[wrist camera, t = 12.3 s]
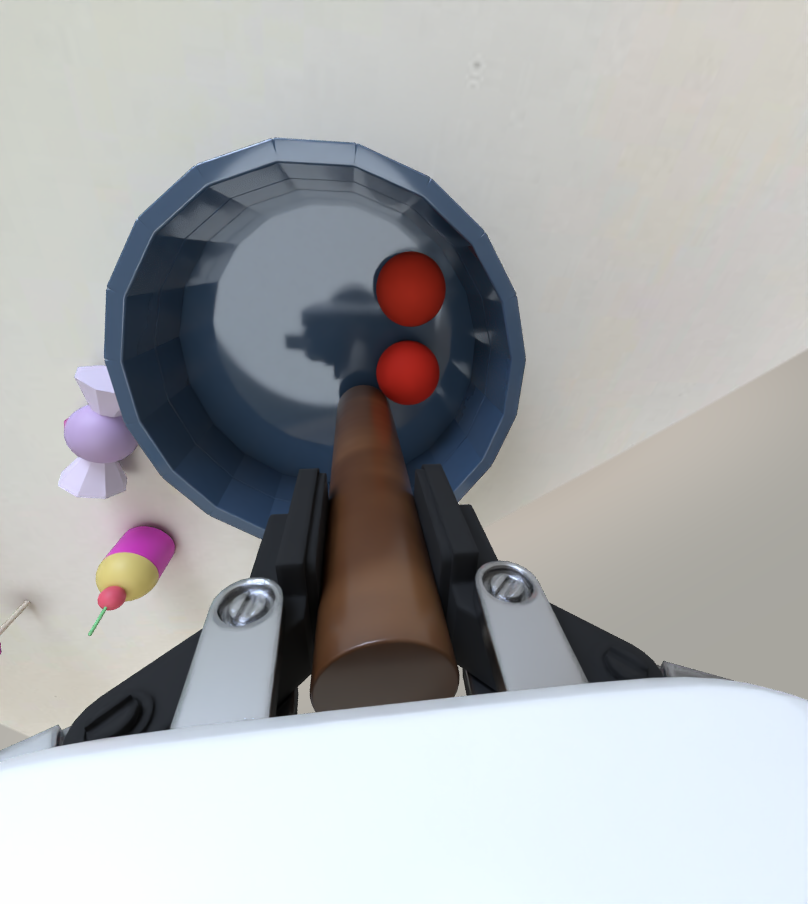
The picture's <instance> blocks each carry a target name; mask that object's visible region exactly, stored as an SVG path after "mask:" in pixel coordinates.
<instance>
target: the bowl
mask: <svg viewBox="0 0 808 904" xmlns="http://www.w3.org/2000/svg"><path fill="white" fill-rule="evenodd" d="M408 251H414V252H420V253H423V254H425V255H427V256H429V257H430V258H431V259H433V260H434V261H435V262H436V263H437V265H438V266H439V267H440V269H441V271H442V273H443V276H444V279H445V285H446V293H445V299H444V302H443V305H442V307H441V309H440V310H439V312H438V313H437V314H436V316H435V317H434V318H433V319H431V320H430V321H428V322H427V323H425V324H423V325H420V326H415V327H406V326H402V325H399V324H397V323H395V322H393V321H392V320H390V319H389V318H388V317H387V316H386V315H385V314H384V312H383V311H382V309H381V308H380V305H379V303H378V300H377V294H376V284H377V279H378V276H379V273H380V271H381V269H382V268H383V266H384V265H385V264H386V262H387V261H388V260H390V259H391V258H392V257H394V256H395V255H397V254H400V253H403V252H408ZM406 340H410V341H416V342H419V343H421V344H423V345H425V346H426V347H428V348H429V349H430V350H431V351H432V352H433V354H434V355H435V357H436V359H437V361H438V365H439V371H440V374H439V381H438V384H437V387H436V388H435V390H434V392H433V393H432V394H431V395H430V396H429V397H428V398H427V399H426V400H424V401H422V402H420V403H418V404H414V405H402V404H398V403H395V402H393V401H392V400H390V399H389V398H387V399H388V401H389V404H390V408H391V411H392V415H393V419H394V423H395V427H396V431H397V434H398V438H399V442H400V446H401V450H402V454H403V458H404V461H405V465H406V469H407V473H408V477H409V481H410V485H411V488H412V492H413V496H414V484H415V470H416V469H421V467H422V464H441V465H442V467H443V470H444V472H445V474H446V477H447V479H448V481H449V484H450V486H451V488H452V490H453V493H454V495H455V497H456V500H457V502H459V501H460V500H461V499H462V497H463V496H464V495H465V494H466V493H467V492H468V491H469V490H470V489H471V488H472V486H473V485H474V484H475V483H476V482H477V481H478V480H479V479H480V478H481V477H482V476H483V474H484V473H485V472H486V471H487V470H488V469H489V468H490V467H491V465H492V464H493V462H494V460H495V458H496V456H497V454H498V452H499V450H500V448H501V446H502V444H503V442H504V440H505V438H506V436H507V434H508V432H509V430H510V428H511V426H512V424H513V422H514V420H515V418H516V415H517V410H518V404H519V398H520V392H521V386H522V380H523V374H524V368H525V362H526V358H525V357H526V356H525V349H524V342H523V335H522V328H521V321H520V314H519V307H518V300H517V296H516V292H515V290H514V288H513V286H512V284H511V282H510V280H509V278H508V276H507V274H506V272H505V270H504V268H503V266H502V264H501V262H500V260H499V258H498V256H497V254H496V252H495V250H494V248H493V246H492V244H491V242H490V240H489V238H488V236H487V234H486V233H484V230H483V229H482V228H481V227H480V226H479V225H478V224H477V223H476V222H475V221H474V220H473V219H472V218H471V217H470V216H469V215H468V214H467V213H466V212H465V211H464V210H463V209H462V208H461V207H460V206H459V205H458V204H457V203H456V202H455V201H454V200H453V199H452V198H451V197H450V196H449V195H448V194H447V193H446V192H445V191H444V190H443V189H442V188H441V187H440V186H439V185H438V184H437V183H436V182H435V181H434V180H433V179H430V177H429V176H427V175H425V174H423V173H420V172H418V171H416V170H414V169H412V168H410V167H408V166H405V165H403V164H401V163H399V162H397V161H395V160H392V159H390V158H388V157H386V156H384V155H382V154H380V153H377V152H375V151H373V150H371V149H369V148H367V147H364V146H362V145H360V144H356V143H352V142H336V141H321V140H305V139H290V138H274V139H271V138H270V139H267V140H264V141H262V142H259V143H256V144H253V145H250V146H247V147H244V148H241V149H238V150H235V151H232V152H230V153H227V154H224V155H221V156H218V157H215V158H212V159H209V160H206V161H203V162H201V163H198V164H197V165H196V166H193V167H192V168H191V169H190V170H188V171H187V172H186V173H185V174H184V175H183V176H182V177H181V178H180V179H179V180H178V181H177V182H175V183H174V184H173V185H172V186H171V187H170V188H169V189H168V190H167V191H166V192H165V193H164V194H162V195H161V196H160V197H159V198H158V199H157V200H156V201H155V202H154V203H153V204H152V205H151V206H149V207H148V208H147V209H146V210H145V211H144V212H143V213H142V214H141V215H140V216H139V217H138V219H137V220H136V221H135V223H134V226H133V228H132V230H131V232H130V235H129V237H128V239H127V241H126V244H125V246H124V248H123V251H122V253H121V255H120V257H119V260H118V262H117V264H116V266H115V269H114V271H113V273H112V275H111V278H110V280H109V282H108V285H107V289H106V313H105V342H104V359H105V364H106V367H107V371H108V374H109V377H110V380H111V383H112V386H113V389H114V393H115V396H116V399H117V402H118V405H119V408H120V411H121V414H122V418H123V421H124V423H125V424H126V427H127V428H128V430H129V431H130V433H131V434H132V436H133V437H134V438H135V440H136V441H137V443H138V444H139V445H140V447H141V448H142V450H143V451H144V453H145V454H146V455H147V457H148V458H149V460H150V461H151V463H152V464H153V465H154V467H155V468H156V470H157V471H158V473H159V474H160V475H161V476H162V478H163V479H165V480H166V481H167V482H168V483H170V484H171V485H172V486H173V487H174V488H176V489H177V490H178V491H179V492H181V493H182V494H183V495H184V496H185V497H187V498H188V499H189V500H190V501H192V502H193V503H194V504H195V505H197V506H198V507H199V508H200V509H201V510H203V511H204V512H205V513H206V514H208V515H210V516H211V517H214V518H216V519H218V520H220V521H222V522H225V523H227V524H229V525H231V526H233V527H236V528H238V529H240V530H242V531H244V532H246V533H249V534H251V535H253V536H255V537H257V538H261V539H262V538H263V535H264V532H265V529H266V526H267V522H268V519H269V517H270V515H272V514H288V512H289V508H290V504H291V500H292V496H293V492H294V488H295V484H296V480H297V476H298V472H299V469H312V468H319V471H320V473H326V474H327V484H328V497H329V489H330V478H331V468H332V458H333V447H334V437H335V427H336V417H337V407H338V402H339V400H340V398H341V396H342V395H343V394H344V393H345V392H346V391H347V390H349V389H350V388H352V387H355V386H358V385H369V386H373V387H375V388H377V389H379V390H380V391H381V389H380V387H379V385H378V382H377V377H376V368H377V364H378V361H379V358H380V357H381V355H382V353H383V352H384V351H385V350H386V349H387V348H388V347H389V346H391V345H393V344H394V343H397V342H400V341H406Z"/></svg>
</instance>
